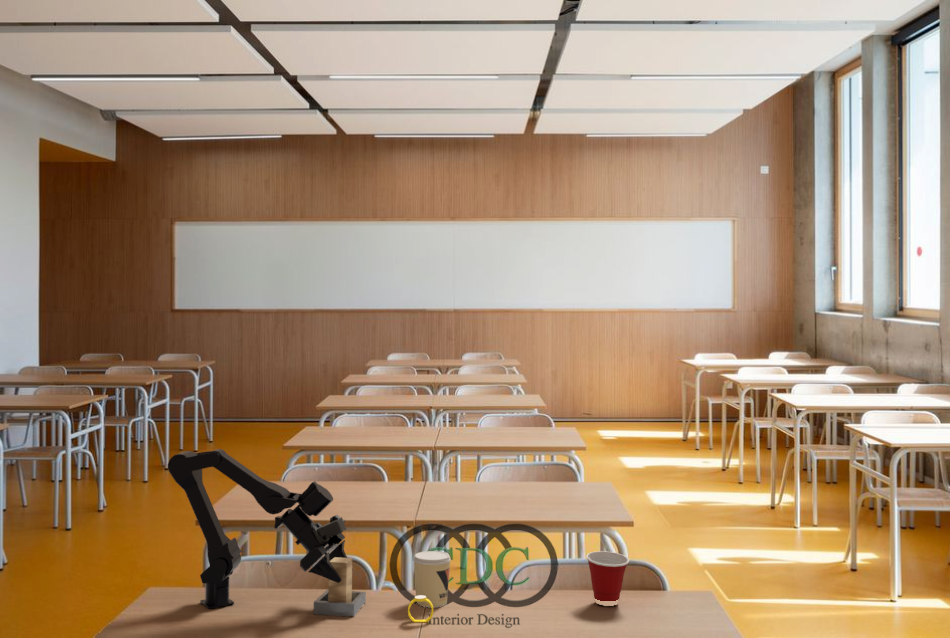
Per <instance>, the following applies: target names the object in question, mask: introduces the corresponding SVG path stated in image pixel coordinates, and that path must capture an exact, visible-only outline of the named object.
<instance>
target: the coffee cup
mask: <svg viewBox="0 0 950 638" xmlns="http://www.w3.org/2000/svg"><path fill="white" fill-rule="evenodd" d="M413 565H414V570H413V571H414V585H415V586H414V587H415V596H418V595H424V596H426V598H427V599H428V600H430V601H431V603H432V605H433V609H435V608H442V607H444V606H447V603H448V592H449V581H450V580H449V579H450V566H451V556H450V554H449V553H447V552H444V551H439V550H425V551H419V552H417V553H416V554H414V556H413ZM416 602H417V603H418V604H420V605H422V606H426V607H428V608H427V609H431V606H430V604H429V603H428V602H426V601H421V602H419V601H415V603H416ZM417 603H416V604H417ZM426 607H425V608H426Z"/></svg>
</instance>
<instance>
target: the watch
mask: <svg viewBox="0 0 950 638" xmlns="http://www.w3.org/2000/svg"><path fill="white" fill-rule="evenodd" d="M416 601H419V602H421V601H426V602H428V603H429V604H430V606H431V608H430V609H431V612H430V615H429V616H428V617H427V618H426V619H415V618H414V617H413V616H412V615H411V610H410V609H411V607H412V605H413V604H414V603H416ZM407 614H408V618H409V619H410V620H411V621H412V622H413V623H415V624H417V623H428V622H429V621H431V620H432V618H433V615H434V608H433V605H432V603H431V601H430V600H428V599H427V598H426V596H424V595H418V596H416V595H415V596H414V598H413V599H412V600H411V601H410V602H409V604H408V607H407Z"/></svg>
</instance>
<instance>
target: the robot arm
mask: <svg viewBox="0 0 950 638" xmlns="http://www.w3.org/2000/svg"><path fill="white" fill-rule="evenodd" d="M208 468H214V469H216V470H218V471H219V472H220V473H222V474H223V476H226V477H228V479H230V480H232V481H233V482H234V483H236V484H237V485H238V486H240V487H241V488H243V489H244V490H245V491H247V492H248V493H250V494H251V496H252V497H253V498H254V499H255V501H256V502H257V504H258V505H259V506H260V507H261V508H262V509H263V510H264V511H265V512H266V513H267V514H270V515H277V514H281V513H282V512H283V511H284V510H285V512H284V513H283V514H281V515H278V516H275V517H274V529H275V530H277V529H278V528H280V527H282V526H284V527H285V528H286V530H288V531H289V533H290V534H291V535H292V536H293V537H294V538H295V539H296V541H294V543H295V544H296V545H297V546H299V545H301V546H302V548H304V550H305V551H306V552H307V553H306V555H304V557H302V558H301V559H300V561H299V567H300V569H302V571H303V572H305V573H307V571H308V573H311V574H314V575H317V576H320V577H322V578H326V579H328V580H329V579H330V580H332V581H334V582H337V583H340V582H341V581H342V579H341V578H340V576H339V574H338V573H337V572H336V570H335V569H334V567H333V566H332V564H331V563H330V561H331V560H332V559H333V558H335V557H339V558H348V556H347V554H346V552H345V543H346V540H345V538H346V536H345V535H344V534H343V532H344V531H346V530H347V528H346V525H345V523H346V520H345V519H343V517H342V516H339V515H338V514H335V515H333V516H331V517H329V522H328V523H326V524H324V525H322V524H321V523H320V522H318V521H317V522H316V523H315V522H314V520H312V519H311V518H310V517H312V516H313V517H318V516H319V515H320V514H321V512H323V511H324V510H326V508H327V507H328V506H329V505H330V504H331V503H332V502H333V501H334V497H333V495H332V494H331V492H330V491H329V490H328V489H327V488H325V486H323V485H321V484H319V483H317V482H316V481H312V482H311V483H310V484H308V487H307V488H306V489H305V490H304V491H303V492H301V493H297V492H293V491H291V492H290V491H289V490H288V488H286V487H284V486H282V485H279V484H277V483H276V482H272V481H269V480H266V479H263V478H261V476H259V475H258V474H257V473H254V472H253V470H251V469H249V468H248V467H246V466H245V465H244V464H242V463H240V462H239V461H238V460H236V459H235V458H234V457H232V456H231V455H229V454H228V453H227V452H226V451H225V450H224V449H222V448H217V449H214V450H209V451H203V452H201V451H200V452H193V451H191V450H186V451H183V452H180V453H177V454H175V455H172V456H171V458H169V461H168V462H167V470H168V472H169V474H170V476H171V477H172V478H173V480H174V481H175V483H176V484H177V485H178V486H179V487H180V488H181V489H182V490H183V491H184V492H185V494H186V497H187V499H188V501H189V504H190V506H191V509H192V510H193V513H194V516H195V518H196V520H197V523H198V525H199V527H200V529H201V532H202V534H203V535H202V536H203V537H204V540H205V541H206V547H207V548H206V549H207V551H206V552H207V554H206V555H207V561H208V565H209V566H208V567H207V568H206V569H205V570H204V571H203V572H202V573H200V575H199V577H200V580H201V583H202V584H205V590H204V591H205V592H204V593H205V594H204V596H205V598H204V599H201V600H200V604H202V605H203V606H204V607H206V608H207V609H214V608H215V609H216V608H221V607H226V606H231V605H230V604H233V605H235V601H233V600H232V599H230V576H231V575H233V573H234V570H235V569H236V568H238V566H239V565H240V563H241V561H242V556H241V555H242V554H241V553H243V551H242V549H241V548H240V547H239V544H238V542H237V541H238V540H237V538H236V537H233V538H232V539H230V538H229V537H228V535H226V534H225V532H224V529H223V528H222V525H221V522H220V521H219V518H218V516H217V513H216V511H215V508H214V506H213V503H212V501H211V499H210V497H209V495H208V492H207V489H206V487H205V485H204V482H203V481H204V480H203V470H204V469H208ZM296 504H298V505H296ZM295 505H296V507H294V506H295ZM293 507H294V508H293ZM291 508H293V509H291ZM286 509H287V510H286ZM353 570H354V569H353V567H352V571H353Z"/></svg>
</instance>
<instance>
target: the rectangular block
mask: <svg viewBox="0 0 950 638" xmlns="http://www.w3.org/2000/svg"><path fill="white" fill-rule="evenodd" d="M330 563H331V564H332V566H333V567H334V569H335V570H336V572H337V573H338V574H339V576H340V578H341V579H342V581H341V582H340V583H337V582H334V581H332V580H330V579H328V589H327V590H328V601H332V602H348V603H351V602H352V591H353V570H352V568H353V558H352V557H350V558H349V557H347V558H339V557H335V558H333V559H332V560H331V561H330Z"/></svg>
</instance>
